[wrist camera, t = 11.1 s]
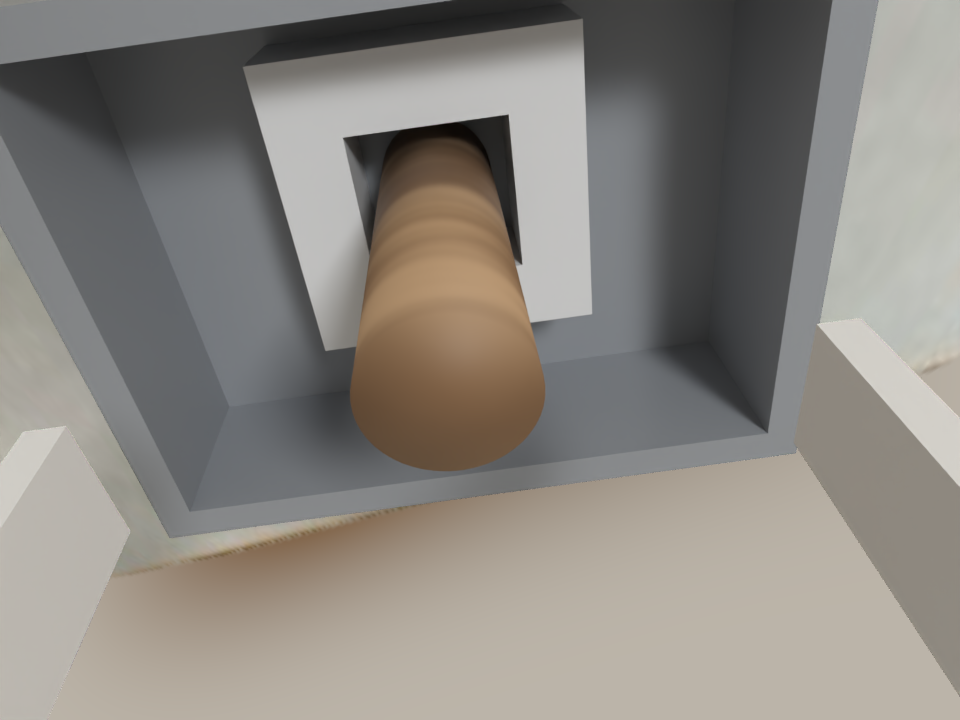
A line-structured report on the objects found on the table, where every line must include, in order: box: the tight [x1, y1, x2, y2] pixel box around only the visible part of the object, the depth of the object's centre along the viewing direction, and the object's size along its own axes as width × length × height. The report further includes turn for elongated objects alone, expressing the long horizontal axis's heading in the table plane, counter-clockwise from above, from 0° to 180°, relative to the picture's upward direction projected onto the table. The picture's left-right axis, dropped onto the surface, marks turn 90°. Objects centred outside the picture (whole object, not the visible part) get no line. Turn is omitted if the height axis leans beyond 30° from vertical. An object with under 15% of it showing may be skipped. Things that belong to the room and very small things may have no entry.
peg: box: [350, 122, 545, 471], centre depth 20 cm, size 4×4×14 cm
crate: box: [0, 0, 878, 538], centre depth 24 cm, size 18×24×7 cm
